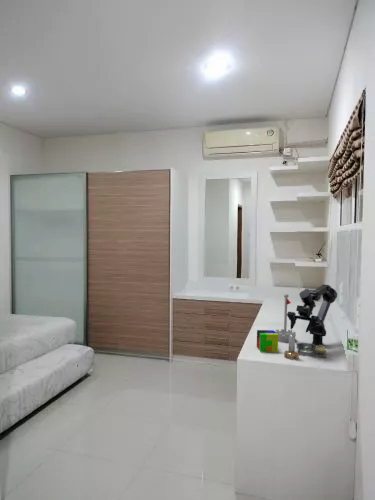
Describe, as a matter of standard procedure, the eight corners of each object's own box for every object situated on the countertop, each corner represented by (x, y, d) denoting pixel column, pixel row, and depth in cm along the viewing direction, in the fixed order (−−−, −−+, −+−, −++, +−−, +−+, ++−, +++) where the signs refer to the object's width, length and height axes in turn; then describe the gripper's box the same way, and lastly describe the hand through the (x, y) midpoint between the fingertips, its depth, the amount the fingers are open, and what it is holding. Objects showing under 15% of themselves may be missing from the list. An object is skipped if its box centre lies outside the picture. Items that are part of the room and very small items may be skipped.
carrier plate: (297, 348, 224) (297, 339, 223) (326, 352, 218) (326, 342, 217) (294, 354, 213) (295, 344, 212) (325, 358, 206) (325, 348, 206)
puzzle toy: (273, 346, 227) (273, 330, 226) (277, 351, 217) (278, 334, 216) (256, 346, 226) (257, 330, 226) (260, 351, 216) (260, 334, 216)
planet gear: (285, 354, 212) (286, 333, 212) (298, 355, 210) (299, 334, 209) (283, 358, 205) (284, 336, 205) (297, 360, 203) (298, 338, 202)
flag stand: (270, 337, 246) (271, 292, 245) (287, 336, 250) (288, 291, 249) (282, 343, 234) (283, 295, 232) (299, 341, 238) (301, 294, 237)
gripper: (288, 297, 222) (278, 319, 215) (319, 302, 210) (309, 325, 202) (294, 309, 228) (285, 330, 221) (324, 314, 216) (315, 336, 208)
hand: (298, 330), depth 213 cm, fingers open, 9 cm apart
